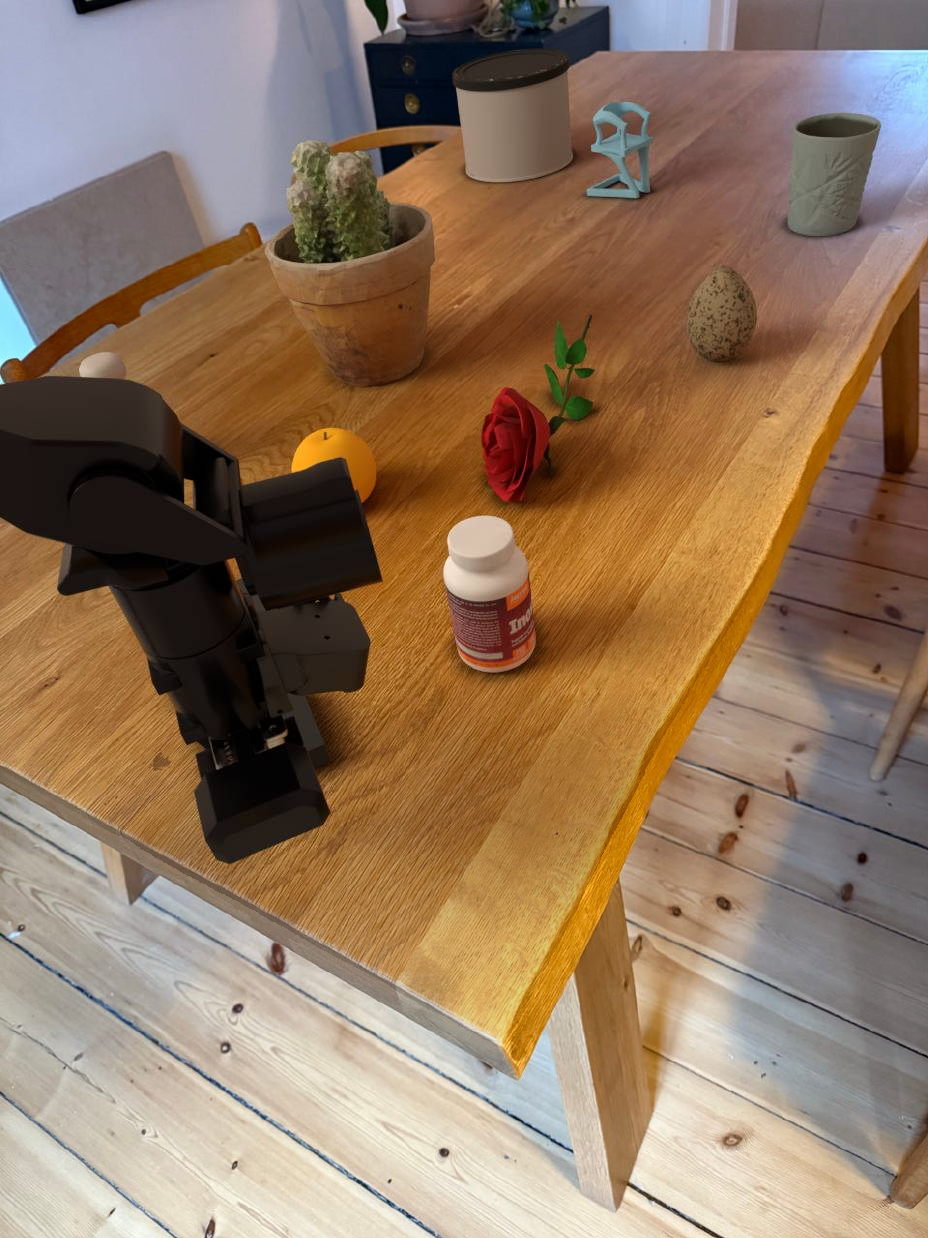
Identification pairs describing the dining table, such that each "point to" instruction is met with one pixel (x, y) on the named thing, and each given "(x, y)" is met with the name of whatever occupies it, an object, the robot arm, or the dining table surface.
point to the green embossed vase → (829, 171)
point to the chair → (622, 150)
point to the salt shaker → (103, 366)
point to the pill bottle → (489, 595)
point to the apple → (339, 445)
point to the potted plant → (354, 267)
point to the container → (515, 114)
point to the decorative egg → (721, 315)
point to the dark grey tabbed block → (308, 730)
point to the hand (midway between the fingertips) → (275, 794)
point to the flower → (530, 424)
